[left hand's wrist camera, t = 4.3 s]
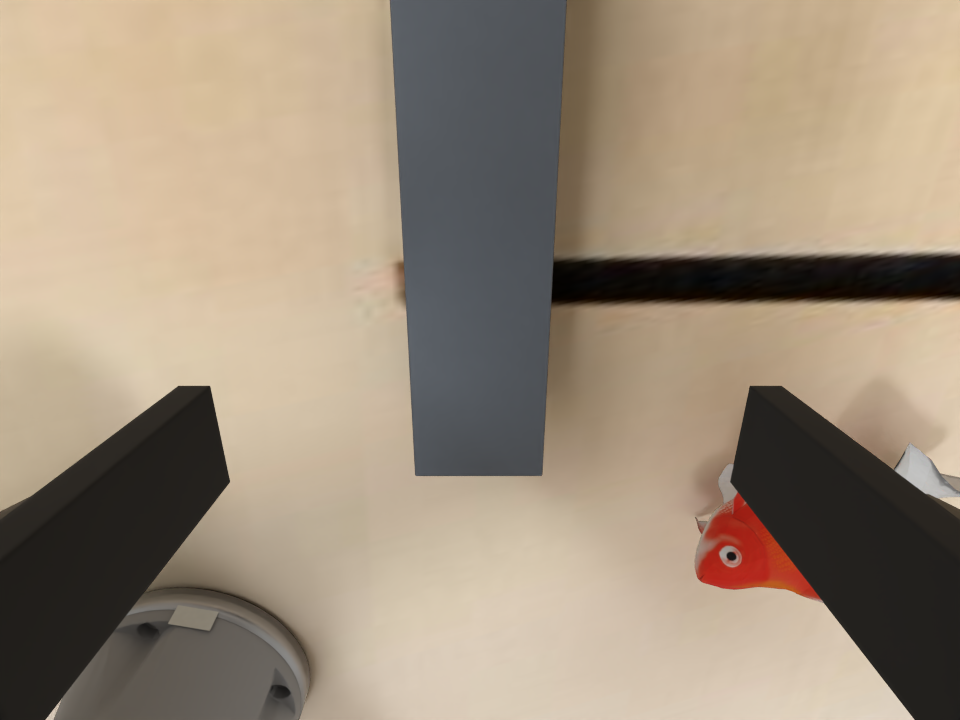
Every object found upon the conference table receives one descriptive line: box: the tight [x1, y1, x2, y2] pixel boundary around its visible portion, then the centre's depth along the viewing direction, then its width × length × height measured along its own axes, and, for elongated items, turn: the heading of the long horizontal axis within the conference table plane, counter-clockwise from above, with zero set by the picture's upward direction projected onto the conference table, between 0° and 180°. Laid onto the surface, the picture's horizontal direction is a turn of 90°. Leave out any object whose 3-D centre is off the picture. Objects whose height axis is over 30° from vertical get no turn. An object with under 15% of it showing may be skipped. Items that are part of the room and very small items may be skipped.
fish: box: [695, 443, 960, 603], centre depth 28 cm, size 11×16×10 cm
